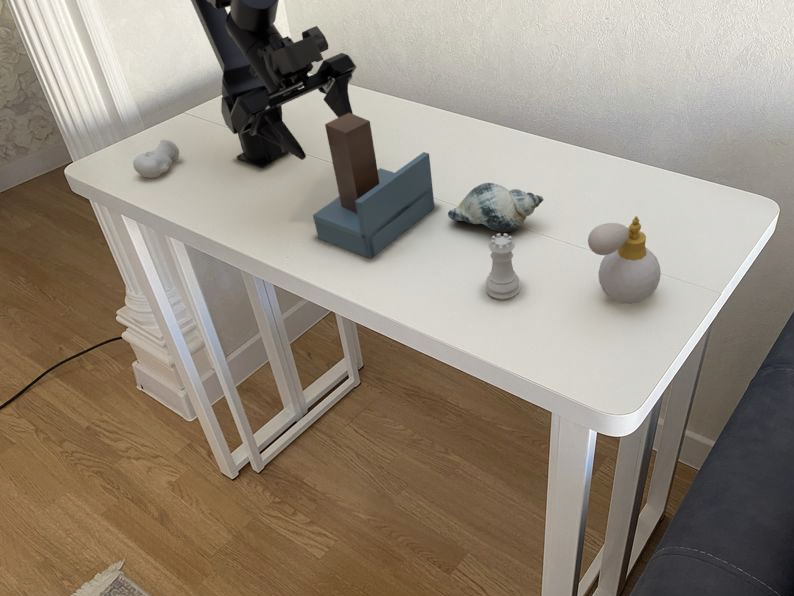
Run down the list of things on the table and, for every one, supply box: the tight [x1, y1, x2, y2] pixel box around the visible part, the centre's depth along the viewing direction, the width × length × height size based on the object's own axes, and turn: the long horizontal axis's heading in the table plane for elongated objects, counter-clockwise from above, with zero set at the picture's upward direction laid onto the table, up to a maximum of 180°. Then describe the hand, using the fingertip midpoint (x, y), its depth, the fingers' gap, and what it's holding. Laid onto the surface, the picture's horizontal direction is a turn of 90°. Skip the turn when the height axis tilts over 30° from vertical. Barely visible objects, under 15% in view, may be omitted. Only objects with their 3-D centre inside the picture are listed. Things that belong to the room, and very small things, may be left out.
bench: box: [312, 151, 435, 260], centre depth 104 cm, size 10×15×9 cm, turn 145°
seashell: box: [447, 182, 544, 233], centre depth 103 cm, size 6×8×12 cm
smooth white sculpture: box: [132, 139, 180, 179], centre depth 121 cm, size 4×8×5 cm
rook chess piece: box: [485, 232, 521, 300], centre depth 91 cm, size 4×4×8 cm
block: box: [324, 113, 380, 214], centre depth 99 cm, size 4×4×12 cm
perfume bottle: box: [587, 215, 662, 305], centre depth 87 cm, size 8×10×12 cm
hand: (330, 145), depth 100 cm, fingers open, 9 cm apart
